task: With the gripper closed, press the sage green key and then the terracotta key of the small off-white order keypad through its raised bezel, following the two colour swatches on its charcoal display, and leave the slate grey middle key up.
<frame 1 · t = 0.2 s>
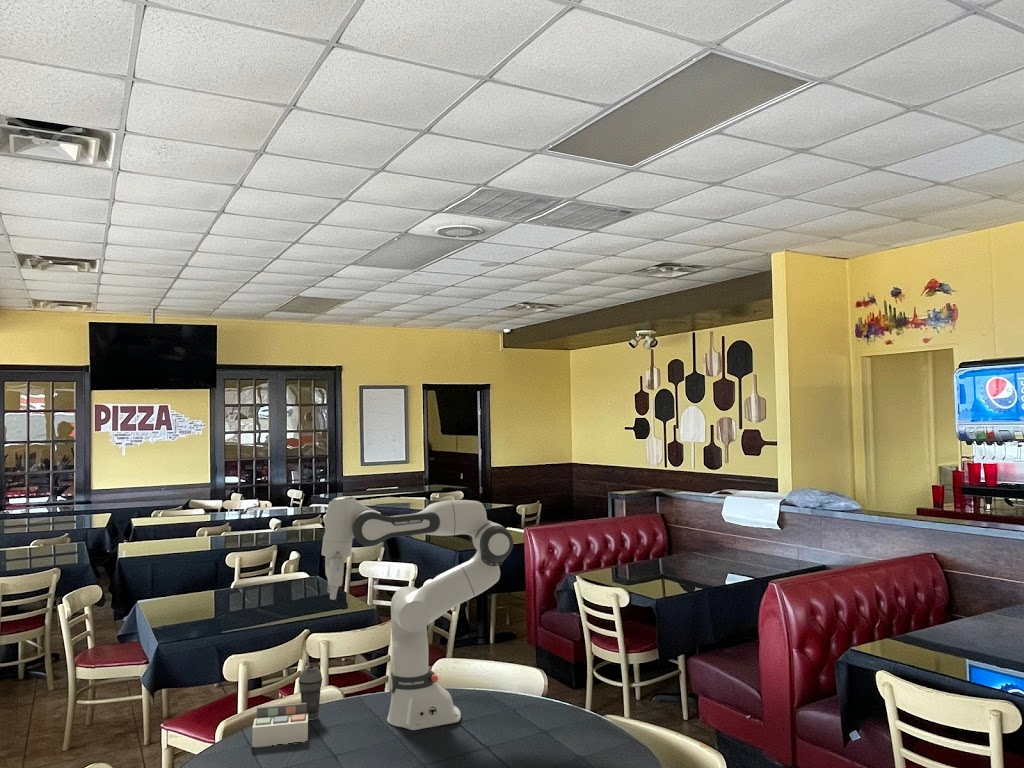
hand: (331, 595, 230), 39 cm above the table, tool pointing down, fingers open, 8 cm apart
key slate: (280, 722, 219), point 5 cm above the table, slide at 0.0 cm
beverage cup: (310, 718, 235), on the table
key sage: (263, 723, 218), point 5 cm above the table, slide at 0.0 cm
keypad console: (280, 738, 220), on the table
key terracotta: (298, 720, 220), point 5 cm above the table, slide at 0.0 cm
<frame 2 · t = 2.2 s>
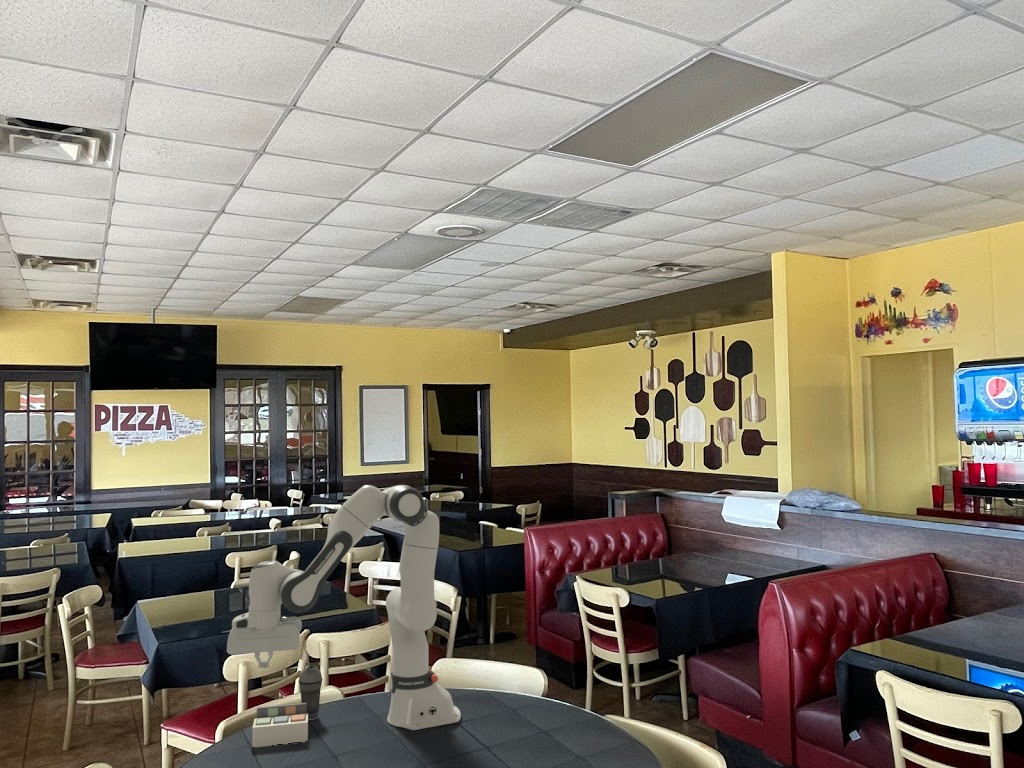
hand: (264, 667, 219), 21 cm above the table, tool pointing down, fingers closed
nothing on the table moved.
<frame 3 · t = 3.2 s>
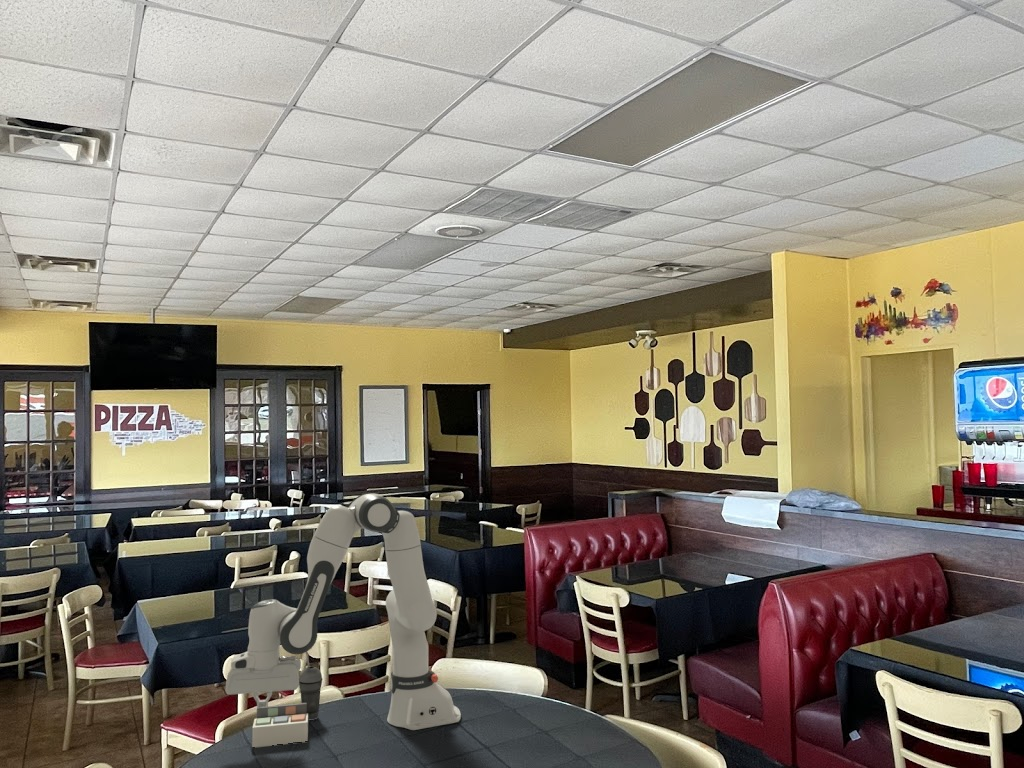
hand: (262, 707, 218), 10 cm above the table, tool pointing down, fingers closed
nothing on the table moved.
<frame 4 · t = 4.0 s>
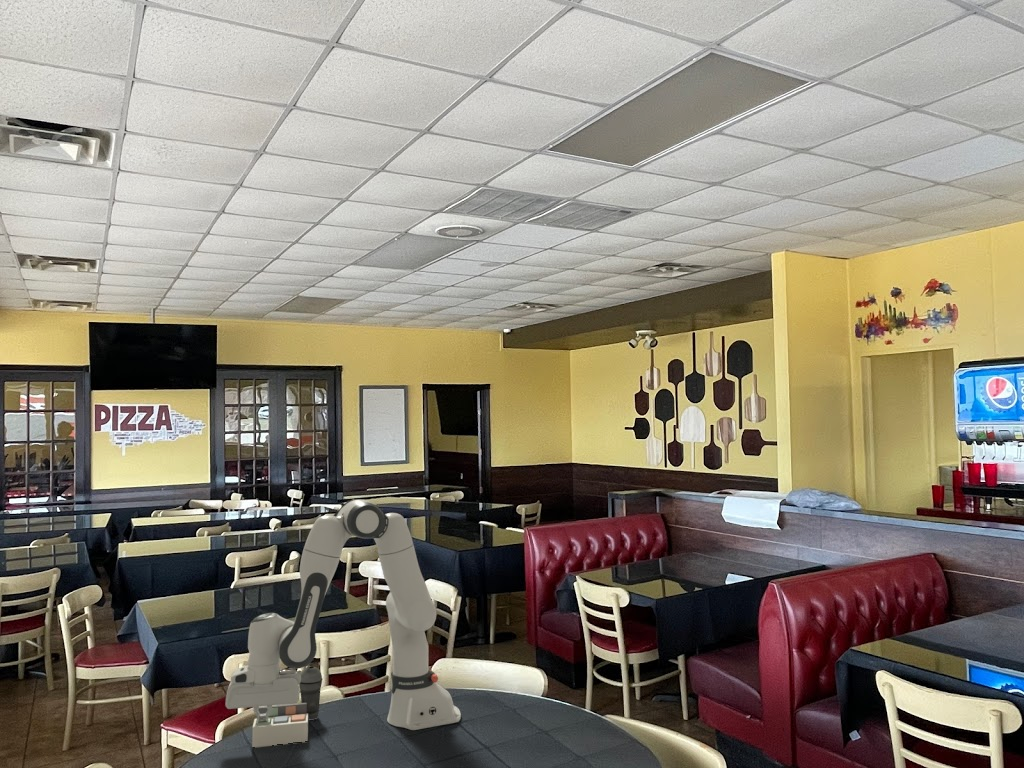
hand: (262, 721, 218), 6 cm above the table, tool pointing down, fingers closed, pressing on key sage
key sage: (263, 724, 218), point 5 cm above the table, slide at 0.2 cm, touching gripper
everything else where it was.
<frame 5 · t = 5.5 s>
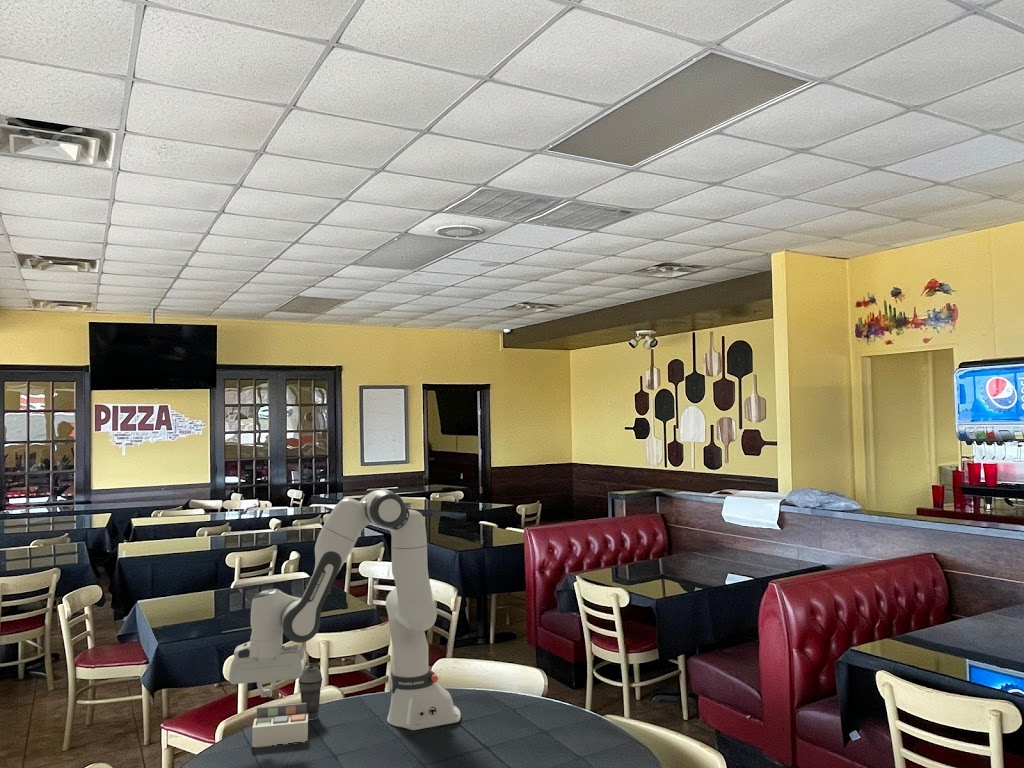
hand: (266, 696, 219), 13 cm above the table, tool pointing down, fingers closed
key sage: (263, 728, 218), point 4 cm above the table, slide at 1.2 cm
everything else where it was.
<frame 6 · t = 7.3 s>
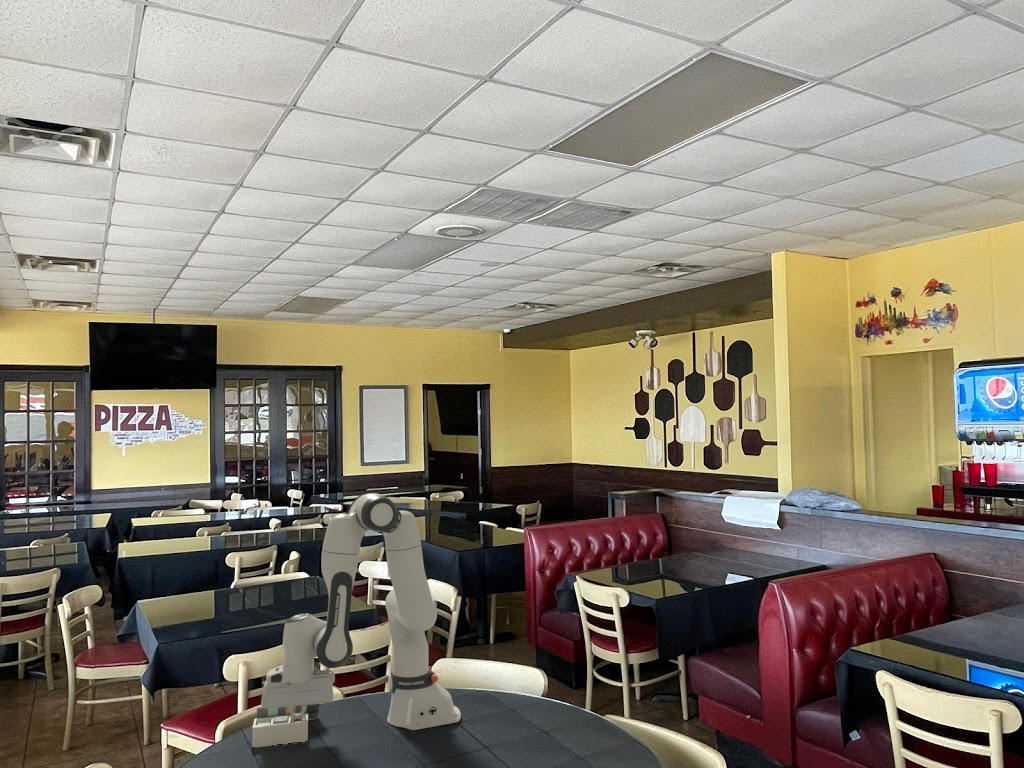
hand: (297, 720, 220), 5 cm above the table, tool pointing down, fingers closed, pressing on key terracotta
key terracotta: (298, 724, 220), point 4 cm above the table, slide at 1.0 cm, touching gripper
everything else where it was.
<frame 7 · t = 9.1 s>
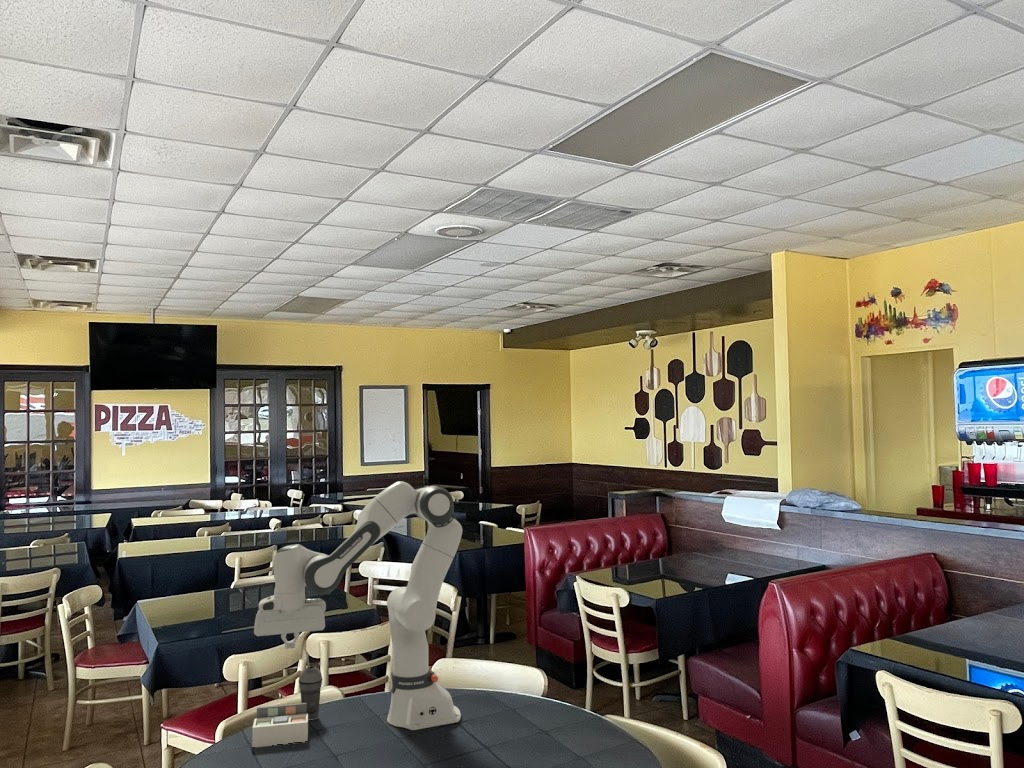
hand: (290, 647, 225), 25 cm above the table, tool pointing down, fingers closed
key terracotta: (298, 724, 220), point 4 cm above the table, slide at 1.2 cm
everything else where it was.
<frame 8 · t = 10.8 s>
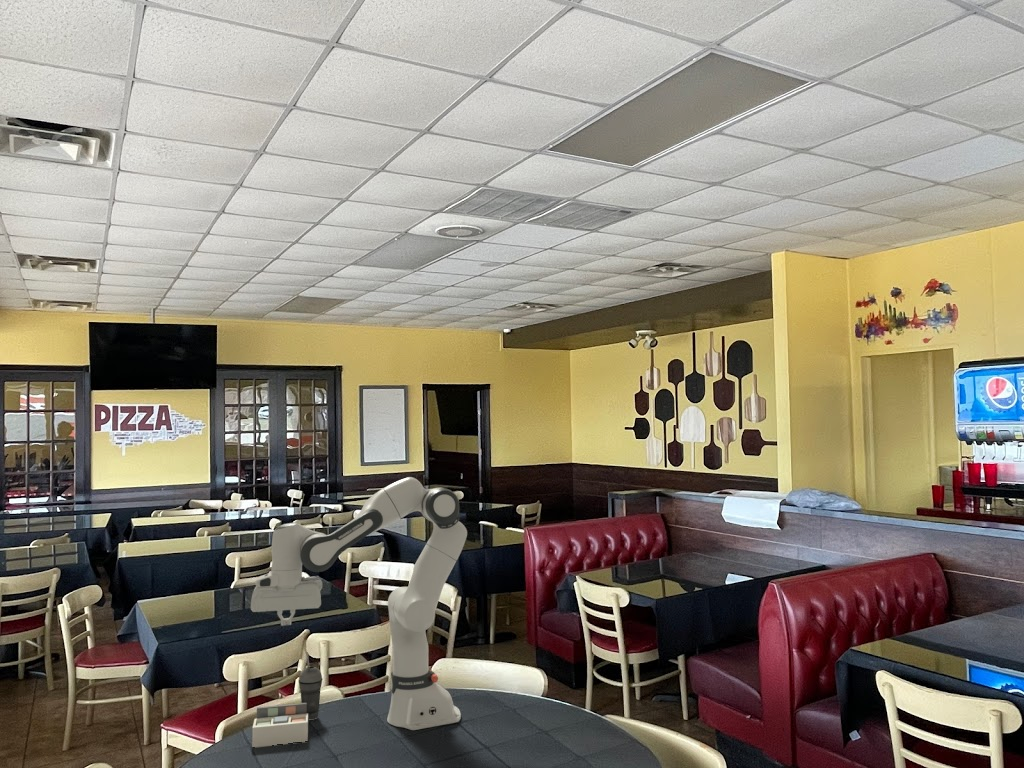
hand: (286, 624, 227), 31 cm above the table, tool pointing down, fingers closed
nothing on the table moved.
at the end: key sage slide at 1.2 cm; key terracotta slide at 1.2 cm; key slate slide at 0.0 cm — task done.
